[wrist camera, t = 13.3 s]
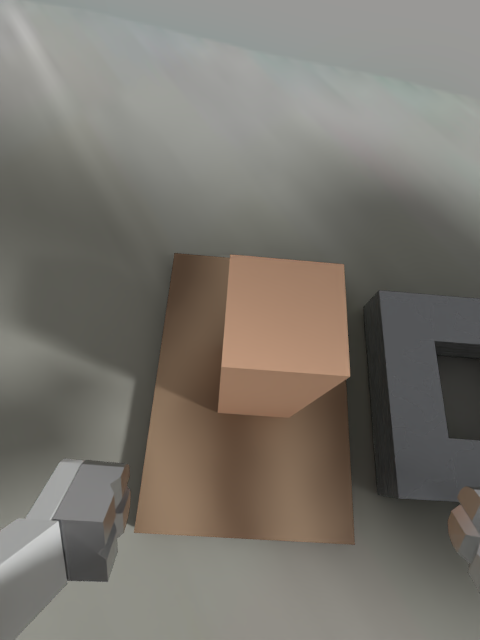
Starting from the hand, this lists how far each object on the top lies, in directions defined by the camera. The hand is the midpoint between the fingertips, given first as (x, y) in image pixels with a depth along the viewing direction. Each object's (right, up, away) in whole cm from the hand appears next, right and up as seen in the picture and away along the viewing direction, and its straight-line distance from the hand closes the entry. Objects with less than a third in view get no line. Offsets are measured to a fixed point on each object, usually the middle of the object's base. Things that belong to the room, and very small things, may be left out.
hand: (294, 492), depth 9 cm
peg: (-1, +1, +12) cm, 12 cm away
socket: (+12, -1, +14) cm, 18 cm away
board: (-1, 0, +13) cm, 13 cm away
